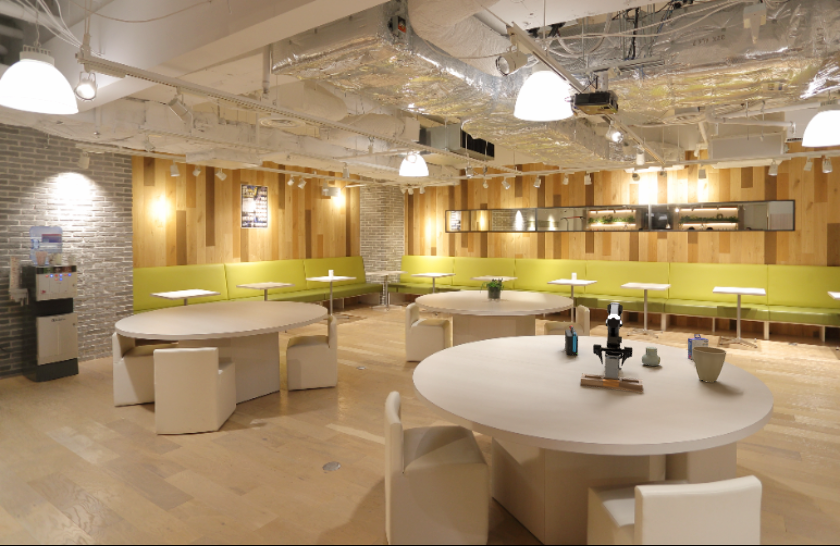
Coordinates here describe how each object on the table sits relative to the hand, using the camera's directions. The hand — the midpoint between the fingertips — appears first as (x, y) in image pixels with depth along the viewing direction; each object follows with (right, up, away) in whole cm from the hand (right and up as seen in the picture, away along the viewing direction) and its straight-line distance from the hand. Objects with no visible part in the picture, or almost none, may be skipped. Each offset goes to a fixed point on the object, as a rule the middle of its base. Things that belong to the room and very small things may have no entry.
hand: (611, 364), depth 247 cm
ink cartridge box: (+69, -5, +45) cm, 82 cm away
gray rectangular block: (-2, -8, -5) cm, 10 cm away
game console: (-1, -4, +65) cm, 65 cm away
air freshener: (+35, -6, +32) cm, 48 cm away
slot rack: (-2, -9, -5) cm, 11 cm away
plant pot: (+50, -9, +3) cm, 51 cm away
